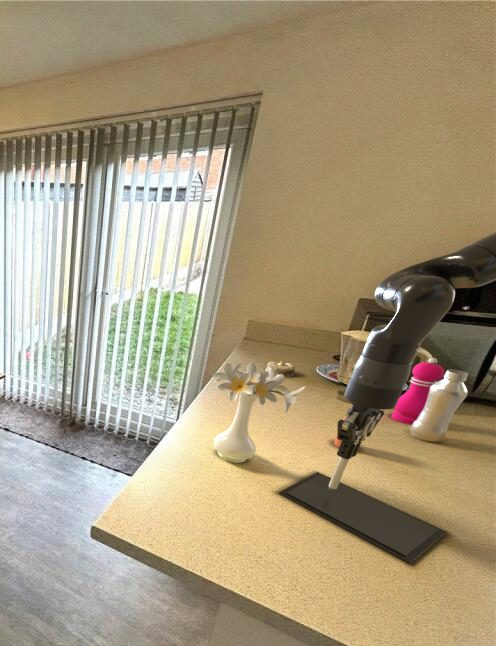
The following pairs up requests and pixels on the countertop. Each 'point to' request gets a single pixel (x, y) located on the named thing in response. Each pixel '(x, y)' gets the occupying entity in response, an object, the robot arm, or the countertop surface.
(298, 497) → the tablet
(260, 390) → the flower vase
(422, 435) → the plastic bottle
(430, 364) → the pepper mill
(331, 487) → the stylus
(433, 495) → the countertop surface
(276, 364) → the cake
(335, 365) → the ceramic plate
